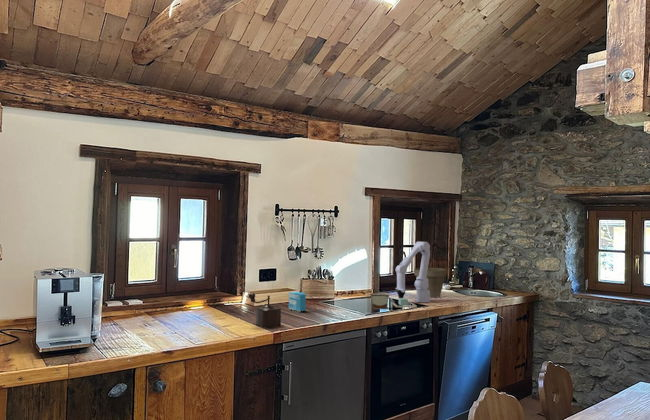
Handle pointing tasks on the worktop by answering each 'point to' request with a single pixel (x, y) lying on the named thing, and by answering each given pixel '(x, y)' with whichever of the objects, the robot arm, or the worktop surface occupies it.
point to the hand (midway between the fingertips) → (400, 301)
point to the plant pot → (434, 280)
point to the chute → (402, 306)
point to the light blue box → (297, 301)
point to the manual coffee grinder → (266, 313)
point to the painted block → (403, 301)
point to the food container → (379, 300)
